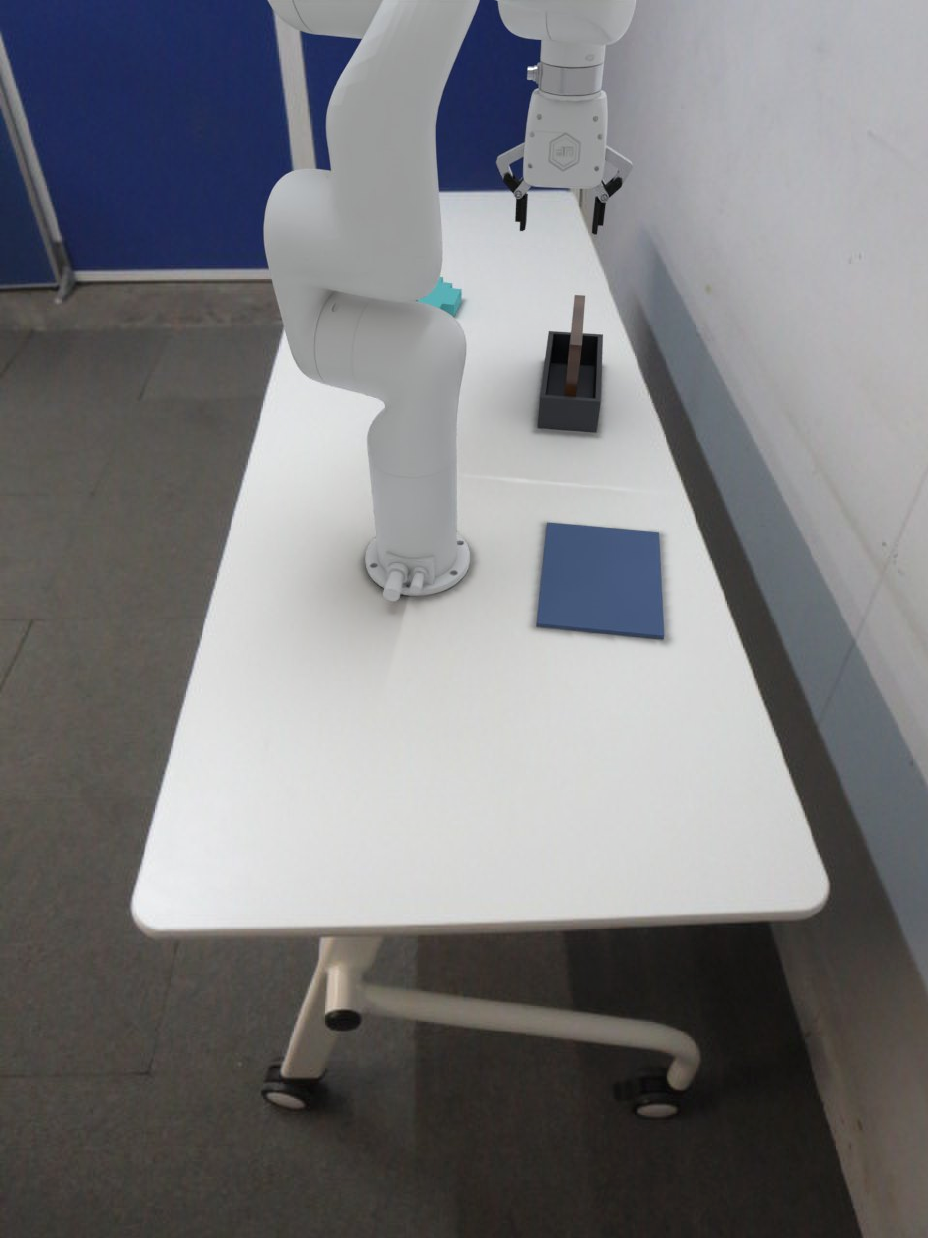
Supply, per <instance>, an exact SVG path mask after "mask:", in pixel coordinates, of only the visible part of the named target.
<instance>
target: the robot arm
mask: <svg viewBox="0 0 928 1238" xmlns="http://www.w3.org/2000/svg"><path fill="white" fill-rule="evenodd" d="M495 1H497V7H498V8H497V9H498V12H499V17H500V19H501V21H502V23H503V25H504V27H505V28H506V29H507V30H508V31H509V32H510V33H511V34H513V35H515V36H517V37H520V38H523V39H528V40H535V41H537V40H538V41H541V42H540V61H539V62H537V64H534V65H533V66H529V65H528V66H527V72H526V80H528V81H533V82H535V83H536V85H537V87H538V88H535V89H534V90H533V91H532V92H531V97H530V101H529V106H528V107H529V108H528V112H527V119H526V126H525V137H524V142H522V143H520V144H519V145H516V146H515V147H513V148H510V149H509V150H507V151H505V152H503V153H501V154H499V155H498V156H497V157H496V159H495V160H496V161H495V165H496V167H497V170H498V172H499V174H500V176H501V178H502V182H503V183H504V185H505V187H507V189H508V190H509V191H510V192H511V194H512V195H513V197H514V199H515V215H514V216H515V217H514V222H515V223H519V232H524V231H526V226H527V221H528V220H527V218H528V201H529V200H528V199H529V193H527V192H528V191H529V190H530V189H531V187H537V188H551V189H552V188H553V189H556V188H557V189H578V190H579V189H580V190H581V189H582V190H587V189H588V190H590V189H592V190H593V192H594V193H595V195H596V196H595V197H594V204H593V214H592V224H591V234H593V235H598V232H599V231H598V230H599V227H603V226H604V223H605V213H606V204H607V202H608V201H609V199H610V198H611V197H612V196H613V195H615V193H617V192H618V191H619V190H620V189H621V188H622V186H623V184H624V183H625V181H626V180H627V178H628V177H629V175H630V174H631V172H632V170H633V166H634V165H633V162H632V160H631V159H629V158H628V157H625V156H624V155H623V154H621V153H620V152H618V151H617V150H615V149H614V148H612V147H610V146H609V145H608V144H607V139H608V121H609V120H608V119H609V118H608V117H609V114H608V110H609V109H608V96H607V93H606V91H605V90H602V86H603V79H604V78H603V77H604V69H605V68H604V67H605V58H606V50H607V49H606V48H607V47H606V46H610V45H613V44H616V43H617V42H618V41H620V39H622V37H623V36H624V35H625V34H626V33H627V31H628V30H629V28H630V25H631V23H632V21H633V18H634V15H635V11H636V8H637V7H636V6H637V0H495ZM267 2H268V4H269V5H270V7H271V8H272V10H273V12H274V13H275V14H276V15H277V16H278V17H279V18H280V20H281V21H283V22H284V23H285V24H287V25H288V26H290V27H291V28H293V29H294V30H296V31H297V30H298V31H300V32H303V33H306V34H311V35H318V36H329V37H340V38H350V39H358V40H359V39H360V42H359V43H358V46H357V47H356V49H355V51H354V52H353V55H352V56H351V58H350V59H349V61H348V63H347V64H346V66H345V68H344V69H343V71H342V73H341V74H340V76H339V78H338V79H337V81H336V85H334V88H333V90H332V93H331V96H330V98H329V102H328V104H327V105H328V106H327V109H326V116H325V138H326V143H327V149H328V151H327V152H328V158H329V164H330V165H329V166H330V170H328V169H321V168H298V169H295V170H292V171H290V172H288V173H286V174H284V175H283V176H282V177H280V178H279V180H278V181H277V182H276V183H275V185H274V186H273V187H272V189H271V192H270V194H269V197H268V199H267V202H266V206H265V209H264V210H265V211H264V220H263V246H264V251H265V257H266V262H267V267H268V271H269V276H270V279H271V283H272V287H273V290H274V294H275V298H276V302H277V306H278V309H279V313H280V317H281V321H282V325H283V328H284V333H285V336H286V340H287V343H288V346H289V347H288V348H289V350H290V353H291V356H292V358H293V361H294V363H295V364H296V366H297V368H298V369H299V370H300V372H301V373H302V374H303V375H305V376H306V377H307V378H309V379H310V380H312V381H314V382H315V383H319V384H322V385H326V386H329V387H333V388H335V389H341V390H344V391H349V392H353V393H357V394H361V395H364V396H367V397H370V398H374V399H376V400H379V401H381V402H382V404H383V405H384V407H383V408H382V410H380V411H379V412H378V414H377V415H375V417H374V419H373V420H372V421H371V424H370V425H369V428H368V431H367V435H366V450H367V459H368V469H369V477H370V479H369V480H370V488H371V500H372V508H373V517H374V519H373V520H374V529H375V537H374V538H373V539H372V540H371V541H370V543H368V545H367V547H366V551H365V554H364V556H365V557H364V561H365V569H366V571H367V574H368V576H370V578H371V580H372V581H374V582H375V583H376V584H377V585H379V586H380V587H381V588H383V592H382V597H383V598H384V600H386V601H388V602H393V603H394V602H397V601H398V600H400V597H401V595H404V596H412V597H419V596H429V595H434V594H438V593H440V592H443V591H446V590H448V589H449V588H452V587H454V586H455V585H456V584H458V583H459V582H460V581H461V580H462V579H463V578H464V577H465V576H466V574H467V572H468V570H469V568H470V563H471V551H470V546H469V545H468V543H467V541H466V539H464V537H463V536H462V535H461V534H460V533H458V474H457V473H458V472H457V471H458V467H457V466H458V461H457V460H458V455H457V454H458V450H457V449H458V448H457V447H458V445H457V444H458V443H457V441H458V440H457V439H458V438H457V435H458V432H457V431H458V412H459V402H460V393H461V387H462V381H463V378H464V377H463V376H464V371H465V366H466V359H467V347H468V346H467V345H468V344H467V338H466V333H465V331H464V328H463V326H462V325H461V324H460V322H459V321H458V320H457V319H456V318H455V316H454V317H453V316H451V315H450V314H449V313H447V312H445V311H444V310H442V309H439V308H437V307H434V306H432V305H429V304H425V303H421V302H417V301H416V300H419V299H422V298H424V297H426V296H427V295H428V294H429V293H430V292H432V291H433V290H434V288H435V287H436V285H437V282H438V281H439V278H440V277H441V274H442V273H441V272H442V267H443V231H442V215H441V203H440V188H439V176H438V162H437V141H436V137H437V136H436V132H437V131H436V129H437V126H436V125H437V117H438V112H439V106H440V103H441V99H442V96H443V92H444V89H445V86H446V84H447V81H448V79H449V76H450V74H451V71H452V69H453V66H454V63H455V61H456V59H457V57H458V55H459V52H460V49H461V47H462V44H463V42H464V39H465V38H466V35H467V33H468V31H469V29H470V27H471V24H472V21H473V19H474V16H475V15H476V12H477V9H478V6H479V3H480V0H267ZM522 158H523V160H522V161H523V163H522V166H523V167H522V177H521V178H520V179H519V178H518V177H517V176H516V175H515V174H514V172H513V171H512V169H511V167H510V165H511V164H513V163H514V162H517V161H518V160H520V159H522ZM606 162H608V163H609V164H611V165H612V166H614V167H615V168H617V169H618V170H617V172H616V174H615V175H614V176H613V177H612V178H611V179H610V180H609V181H608V182H606V181H605V180H604V179H603V178H604V171H605V164H606Z"/></svg>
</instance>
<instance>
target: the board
mask: <svg viewBox="0 0 928 1238" xmlns="http://www.w3.org/2000/svg"><path fill="white" fill-rule="evenodd" d="M585 304H586V295H583V294H574V299H573V307H572V317H571V326H570V327H571V328H570V332H571V336H570V346H569V355H568V365H567V376H566V386H565V396H567V397H576V392H577V383H578V374H579V365H580V356H581V348H582V335H583V333H584V332H583V331H584V320H585V307H586V306H585Z"/></svg>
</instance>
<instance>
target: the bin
mask: <svg viewBox="0 0 928 1238" xmlns="http://www.w3.org/2000/svg"><path fill="white" fill-rule="evenodd" d="M547 333H548V334H547V341H546V348H545V356H544V364H543V370H542V377H541V378H542V379H541V386H540V393H539V401H538V412H537V413H538V415H537V416H538V417H537V429H542V430H554V431H566V432H569V431H570V432H581V433H592V434H593V433H594V434H597V432H598V427H599V426H598V425H599V419H600V410H601V403H602V382H603V381H602V378H603V373H602V372H603V351H604V349H603V348H604V334H603V333H602V334H601V333H588V332H587V333H586V332H583V335H582V348H581V356H580V365H579V374H578V383H577V392H576V397H567V396H565V386H566V376H567V365H568V355H569V346H570V336H571V331H557V330H556V331H554V330H548V332H547Z"/></svg>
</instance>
